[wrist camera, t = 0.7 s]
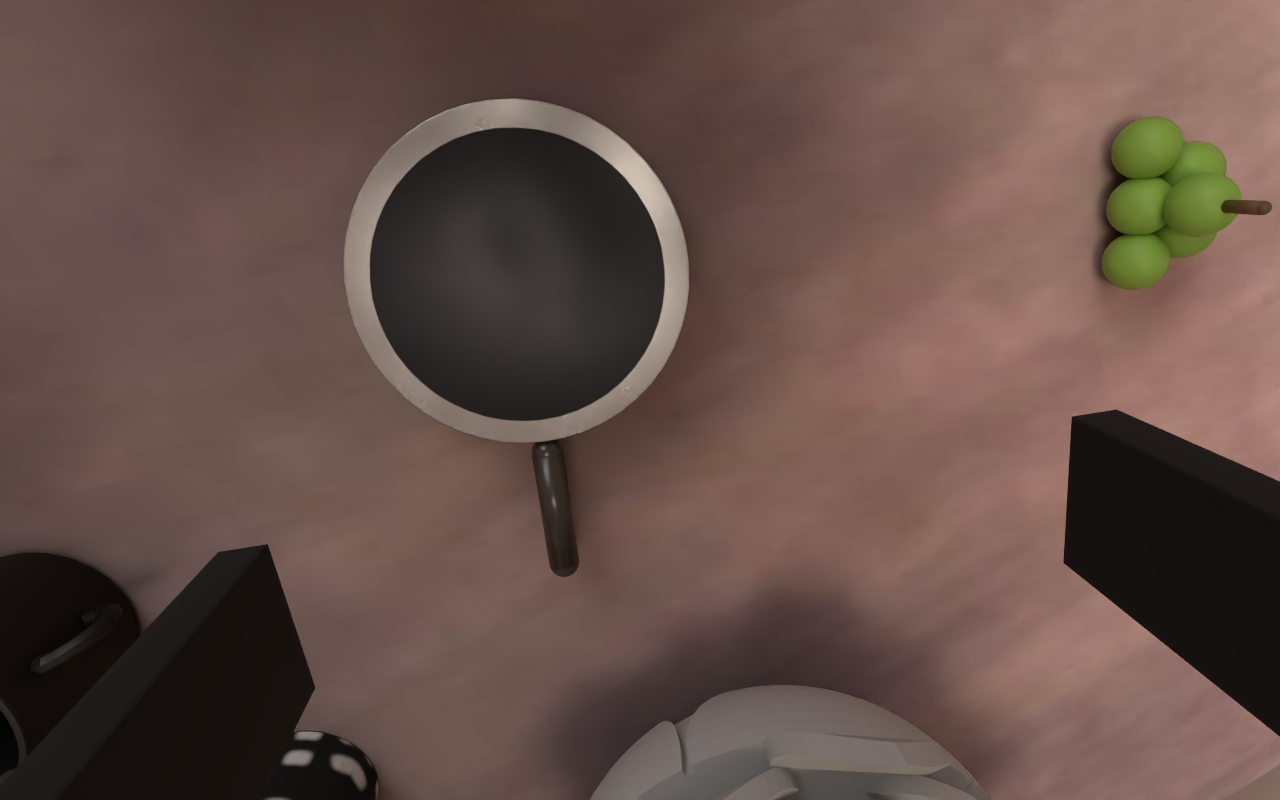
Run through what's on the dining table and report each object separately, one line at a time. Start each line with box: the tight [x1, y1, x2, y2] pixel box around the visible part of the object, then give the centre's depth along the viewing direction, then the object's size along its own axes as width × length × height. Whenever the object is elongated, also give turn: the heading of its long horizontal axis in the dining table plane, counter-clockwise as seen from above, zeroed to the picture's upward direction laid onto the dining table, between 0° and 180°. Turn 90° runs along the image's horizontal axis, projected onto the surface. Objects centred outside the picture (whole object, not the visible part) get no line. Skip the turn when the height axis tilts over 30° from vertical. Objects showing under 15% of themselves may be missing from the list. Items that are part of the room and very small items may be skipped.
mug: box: [0, 553, 138, 776], centre depth 36 cm, size 9×12×9 cm
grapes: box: [1101, 117, 1272, 290], centre depth 35 cm, size 9×5×8 cm, turn 6°
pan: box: [343, 98, 690, 577], centre depth 37 cm, size 24×16×4 cm, turn 6°
